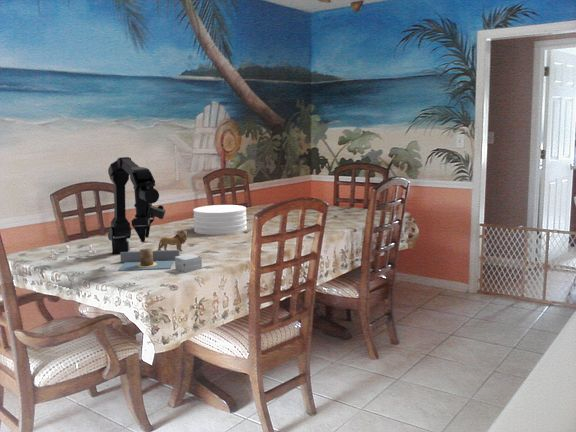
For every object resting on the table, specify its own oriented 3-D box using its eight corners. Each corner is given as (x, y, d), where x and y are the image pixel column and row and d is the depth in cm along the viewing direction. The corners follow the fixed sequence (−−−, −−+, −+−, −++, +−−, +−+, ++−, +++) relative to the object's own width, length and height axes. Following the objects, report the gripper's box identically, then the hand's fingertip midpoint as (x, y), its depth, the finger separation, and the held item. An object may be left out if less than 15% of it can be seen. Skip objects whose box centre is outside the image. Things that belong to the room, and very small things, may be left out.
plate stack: (244, 234, 284) (243, 212, 282) (189, 235, 284) (188, 213, 283) (249, 224, 311) (248, 204, 309) (199, 225, 312) (198, 205, 310)
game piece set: (50, 253, 251) (49, 245, 251) (96, 249, 258) (96, 241, 258) (48, 263, 233) (47, 254, 233) (98, 258, 240) (98, 249, 240)
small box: (174, 269, 218) (174, 256, 217) (191, 265, 223) (191, 252, 222) (185, 272, 212) (184, 259, 211) (202, 268, 217) (202, 256, 217)
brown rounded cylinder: (139, 266, 220) (138, 251, 219) (141, 263, 225) (140, 248, 224) (152, 265, 221) (151, 251, 220) (154, 262, 226) (153, 248, 225)
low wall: (120, 262, 230) (120, 252, 230) (121, 261, 231) (120, 252, 231) (179, 259, 232) (178, 250, 232) (179, 259, 233) (179, 249, 233)
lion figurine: (186, 248, 255) (184, 228, 253) (190, 250, 250) (189, 230, 249) (154, 252, 247) (153, 232, 246) (158, 254, 243) (157, 234, 241)
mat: (118, 271, 216) (118, 269, 216) (124, 263, 228) (124, 262, 228) (170, 268, 218) (170, 267, 218) (173, 261, 230) (173, 259, 230)
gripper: (160, 203, 210) (162, 243, 213) (166, 197, 228) (168, 234, 231) (129, 204, 209) (132, 245, 212) (138, 198, 228) (141, 235, 230)
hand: (145, 239), depth 221 cm, fingers open, 9 cm apart
